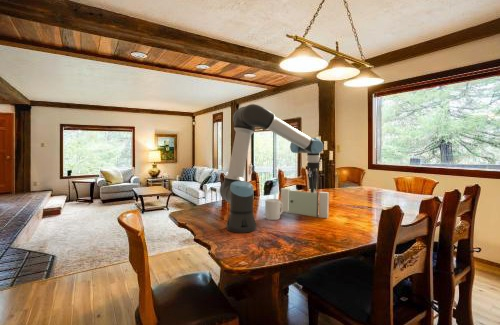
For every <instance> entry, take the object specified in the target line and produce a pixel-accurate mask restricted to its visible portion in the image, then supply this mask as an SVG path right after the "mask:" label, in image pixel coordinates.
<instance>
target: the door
mask: <svg viewBox="0 0 500 325" xmlns="http://www.w3.org/2000/svg"><path fill="white" fill-rule="evenodd" d="M319 192H320V191H318V190H317V191H316V192H315V193H311V192H310V191H309V192H308V191H300V190H291V189H290V190H289V208H288V213H289V214H294V213H295V215H301V214H302V216H308V215H309V217H314V216H315V218H319V217H318V215H319Z"/></svg>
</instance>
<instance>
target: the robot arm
mask: <svg viewBox="0 0 500 325" xmlns="http://www.w3.org/2000/svg"><path fill="white" fill-rule="evenodd" d="M232 120H233V123H234V125H233V129H234V131H235V136H234V140H233V144H232V145H233V146H232V150H231V155H230V156H231V158H230V162H229V167H228V171H227V174H226V175H225V176H224V178H223V179H224V180H223V182H222V183H221V184H220V186H219V194H220V197H221V198H222V199H223V201H225V202H227V203H229V210H230V211H229V212H230V213H229V216H228V219H227V223H226V230H227V231H228V232H231V233H241V234H243V233H251V232H255V231H256V230H257V222H256V218H255V216H254V192H255V191H254V185H253V184H252V183H250V182H249V181H246V180H245V177H244V173H245V170H246V169H245V168H246V165H247V164H246V163H247V158H248V153H249V146H250V141H251V136H253V134H254V133H255V130H256V127H257V128H259V129H260V128H261V129H263V130H269V131H270V132H272V133H274V134H276V135H277V136H279V137H281V138H283V139H285V140H287V141H288V142H290V144H289V149H290V152H291V153H293V154H306V155H307V156H306V161H307V163H306V168H307V169H309V172H308V174H307V177H308V189H309V190H310V191H309V192H311V193H316V189H317V188H318V176H319V172H318V171H317V169H320V159H321V156H320V153H322V151H324V143H323V142H322V140H320V138H319V137H310V136H308V135H307V134H305V133H303V132H301V131H300V130H298V129H297V128H294V127H293V126H291V125H290V124H288V123H287V122H285V121H284V120H281V119H280V118H278V117H277V116H275V113H274V112H272V111H270V110H268V109H267V108H265V107H263V106H261V105H260V104H259V105H258V104H255V103H253V104H252V103H251V104H248V105H245V106H241V107H239V108H238V109H237V110H236V111H235V112H234V114H233V117H232Z"/></svg>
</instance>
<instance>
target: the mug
mask: <svg viewBox="0 0 500 325" xmlns="http://www.w3.org/2000/svg"><path fill="white" fill-rule="evenodd" d="M281 205H282V207H283V204H282V203H281V199H278V198H267V199H265V206H264V208H265V209H264V212H265V213H264V217H265V219H266V220H269V221H277V220H279V219H280V217H281V215H282V214H283V213H284V212H283V210H282V211H281Z"/></svg>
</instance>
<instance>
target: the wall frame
mask: <svg viewBox="0 0 500 325" xmlns="http://www.w3.org/2000/svg"><path fill="white" fill-rule="evenodd" d="M289 190H291V188H285V187H282V188H280V202H281V203H282V204H283V207H282V205H280V212H281V211H282V210H283V212H282V213H288V208H289ZM318 192H319V196H318V218H323V219H328V218H329V212H330V211H329V206H330V204H329V203H330V192H327V191H318ZM293 214H295V213H293ZM295 215H296V214H295ZM300 215H302V214H300ZM302 216H303V215H302ZM307 216H309V215H307ZM309 217H310V216H309ZM313 217H315V216H313ZM315 218H316V217H315Z"/></svg>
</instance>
